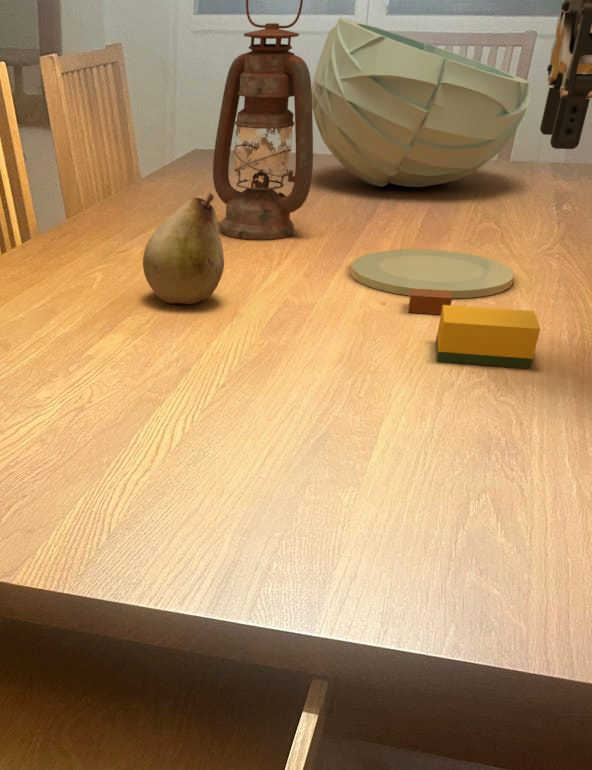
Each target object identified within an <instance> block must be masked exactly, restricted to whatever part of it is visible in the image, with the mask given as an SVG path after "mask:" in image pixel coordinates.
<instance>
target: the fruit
mask: <svg viewBox="0 0 592 770" xmlns="http://www.w3.org/2000/svg"><path fill="white" fill-rule="evenodd" d="M213 200H214V195H213V194H212V193H211V192H208V193H207V196H206V199H204V198H200V197H192V198H190V199H188V200H187V201H185V202H184V203H183V204H182V205H181V206H180V207H179V208H177V210H176V211H175V212H173V214H171V215H169V217H168V218H167V219H166V220H164V221H163V222H162V223H161V224H160V225H159V226H158V227H157V228H156V229H155V230H154V231H153V233H152V234H151V236H150V238H149V239H148V240H147V243H146V245H145V248H144V251H143V255H142V270H143V274H144V277H145V279H146V281H147V282H146V283H147V284H148V285H149V287H150V288H151V290H152V291H153V293H154V294H155V295H156V296H157V297H158V298H159V299H161V300H162V301H164V303H167V304H171V305H172V304H183V305H194V304H196V303H199V302H202V301H204V300H206V299H208V298H210V296H212V295H213V293H214V292H215V290H217V288H218V285H219V284H220V282H221V280H222V277H223V274H224V270H225V257H224V256H225V255H224V247H223V243H222V239H221V237H220V234H219V231H218V229H219V227H218V215H217V213H216V210H215V208H214V206H213V205H211V202H212V201H213Z"/></svg>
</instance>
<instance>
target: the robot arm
mask: <svg viewBox="0 0 592 770" xmlns="http://www.w3.org/2000/svg"><path fill="white" fill-rule="evenodd" d="M560 10H561V11H559V13H558V18H557V20H556V27H555V28H556V29H555V38H554V42H553V44H552V48H551V50H550V58H549V59H550V61H549V64H547V69H546V72H547V82H548V83H547V85H548V86H549V87H548V92H547V95H546V101H545V105H544V110H543V114H542V118H541V123H540V127H539V130H540V132H541V134H542V135H546V136H551V137H550V141H549V144H550V145H551V147H552V148H553V149H556V150H558V149H559V150H574V149H576V148H578V146H579V144H580V141H581V137H582V134H583V133H582V132H583V128H584V125H585V121H586V117H587V112H588V109H589V105H590V101H591V99H592V0H563V2H562V4H561V9H560ZM550 86H551V87H550Z"/></svg>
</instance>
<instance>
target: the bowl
mask: <svg viewBox="0 0 592 770" xmlns="http://www.w3.org/2000/svg"><path fill="white" fill-rule="evenodd" d="M311 89H312V114H313V116H314V117H313V118H314V120H315V123H316V126H317V130H318V132H319V134H320V138H321V139H322V141H323V143H324V144H325V146H326V147H327V149H328V150H329V151H330V153H331V155H333V157H334V158H335V159H336V160H337V161H338V162H339V163H340V164H341V165H342V166H343V167H344V168H345V169H346V170H347V171H348V172H349V173H350V174H351V175H353V176H355V177H356V178H358V179H359V180H360V181H363V182H364V183H366V184H368V185H370V186H373V187H377V186H378V187H385V186H387V185H388V184H393V185H397V186H402V187H403V186H404V187H413V188H421V187H429V186H436V185H440V184H447V183H450V182H453V181H454V182H455V181H456V180H460V179H462V178H464V177H466V176H468V175H470V174H472V173H473V172H475V171H476V170H479V169H480V168H481V167H483V166H484V165H486V164H487V163H488V162H490V161H491V160H493V158H495V156H497V155H498V154H499V153H500V152H501V151H502V150H503V149H504V148H505V147H506V146H507V144H508V143H509V141H510V140H511V139H512V137H513V136H514V135H515V133H516V131H517V129H518V127H519V126H520V124H521V122H522V120H523V118H524V116H525V114H526V111H527V108H528V107H529V104H530V102H531V87H530V82H529V81H528V80H527V79H524V78H521V77H519V76H517V75H514V74H512V73H509V72H507V71H503V70H502V69H499V68H496V67H494V66H492V65H489V64H486V63H483V62H481V61H478V60H475V59H472V58H470V57H467V56H464V55H461V54H458V53H457V52H452V51H450V50H447V49H444V48H441V47H438V46H435V45H433V44H429V43H426V42H422V41H420V40H417V39H414V38H411V37H408V36H405V35H402V34H399V33H397V32H392V31H390V30H386V29H384V28H380V27H377V26H373V25H371V24H366V23H364V22H361V21H356V20H352V19H348V18H342V17H339V18H338V20H337V22H336V25H335V26H333V27H332V28H331V29H330V30H329V32H328V34H327V37H326V40H325V42H324V45H323V48H322V50H321V53H320V56H319V59H318V62H317V66H316V69H315V73H314V75H313V79H312V82H311Z"/></svg>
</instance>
